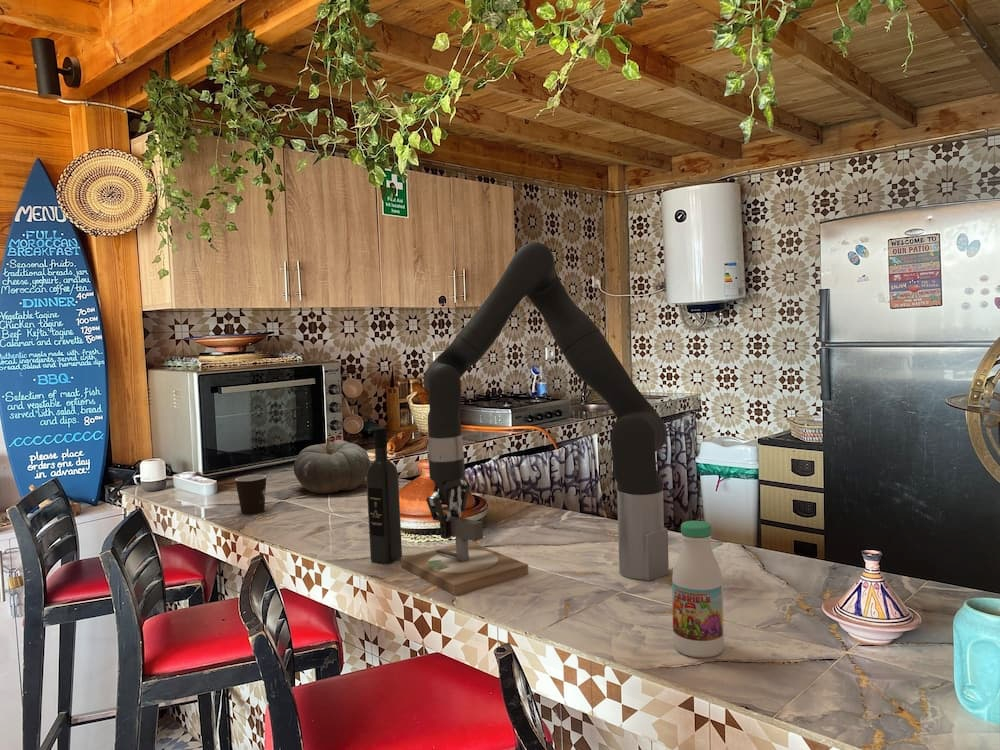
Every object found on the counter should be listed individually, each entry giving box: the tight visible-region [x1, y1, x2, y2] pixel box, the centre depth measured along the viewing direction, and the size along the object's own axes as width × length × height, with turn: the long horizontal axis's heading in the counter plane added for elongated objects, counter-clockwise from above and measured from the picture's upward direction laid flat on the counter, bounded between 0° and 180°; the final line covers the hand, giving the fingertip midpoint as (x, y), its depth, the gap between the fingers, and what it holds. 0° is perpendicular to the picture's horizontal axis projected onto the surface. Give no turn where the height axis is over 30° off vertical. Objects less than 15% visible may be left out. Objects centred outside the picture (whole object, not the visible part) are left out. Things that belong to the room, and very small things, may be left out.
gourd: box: [293, 437, 372, 495], centre depth 241 cm, size 25×25×17 cm
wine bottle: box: [365, 426, 403, 565], centre depth 165 cm, size 6×6×30 cm
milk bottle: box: [671, 520, 725, 659], centre depth 116 cm, size 8×8×20 cm
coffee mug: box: [234, 474, 267, 515], centre depth 217 cm, size 12×9×10 cm
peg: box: [435, 515, 484, 561], centre depth 157 cm, size 12×3×8 cm, turn 49°
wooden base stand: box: [400, 540, 529, 596], centre depth 157 cm, size 22×18×2 cm
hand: (450, 535), depth 159 cm, fingers closed on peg, 3 cm apart
